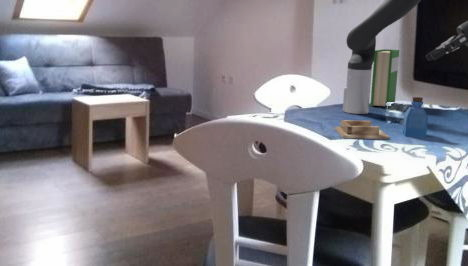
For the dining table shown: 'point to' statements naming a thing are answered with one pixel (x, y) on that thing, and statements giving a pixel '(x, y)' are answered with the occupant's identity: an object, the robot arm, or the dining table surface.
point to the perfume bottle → (415, 119)
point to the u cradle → (360, 130)
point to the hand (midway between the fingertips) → (429, 58)
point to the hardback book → (384, 77)
